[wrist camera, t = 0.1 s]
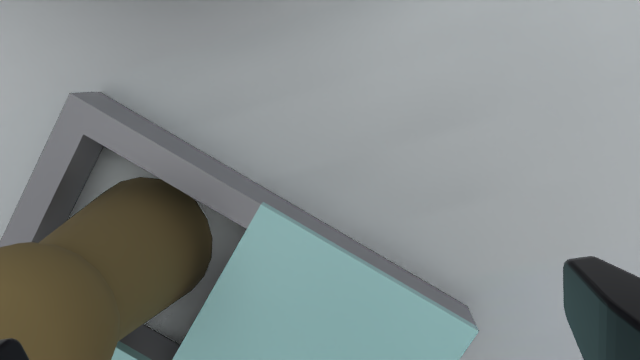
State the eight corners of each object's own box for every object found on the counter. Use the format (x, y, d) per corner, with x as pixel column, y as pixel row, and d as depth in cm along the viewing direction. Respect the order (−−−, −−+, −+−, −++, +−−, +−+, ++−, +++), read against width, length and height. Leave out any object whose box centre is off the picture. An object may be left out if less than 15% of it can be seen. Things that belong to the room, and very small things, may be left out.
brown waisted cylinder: (179, 157, 24) (32, 216, 14) (233, 278, 25) (134, 424, 14) (63, 205, 25) (-161, 296, 14) (119, 320, 26) (-55, 487, 15)
